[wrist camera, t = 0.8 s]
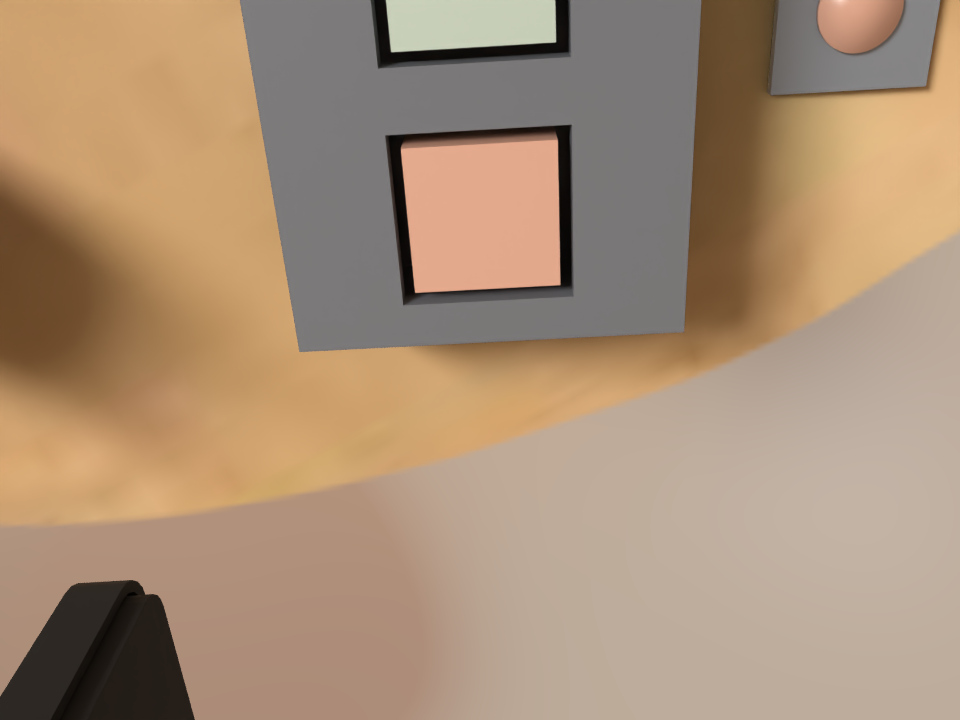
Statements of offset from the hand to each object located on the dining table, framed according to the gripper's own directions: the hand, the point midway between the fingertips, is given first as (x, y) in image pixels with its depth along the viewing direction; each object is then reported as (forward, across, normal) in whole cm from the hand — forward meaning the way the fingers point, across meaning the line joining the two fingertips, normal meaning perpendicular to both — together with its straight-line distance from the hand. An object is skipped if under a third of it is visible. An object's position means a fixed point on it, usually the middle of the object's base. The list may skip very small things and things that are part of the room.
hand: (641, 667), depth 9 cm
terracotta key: (+21, +1, +1) cm, 21 cm away
